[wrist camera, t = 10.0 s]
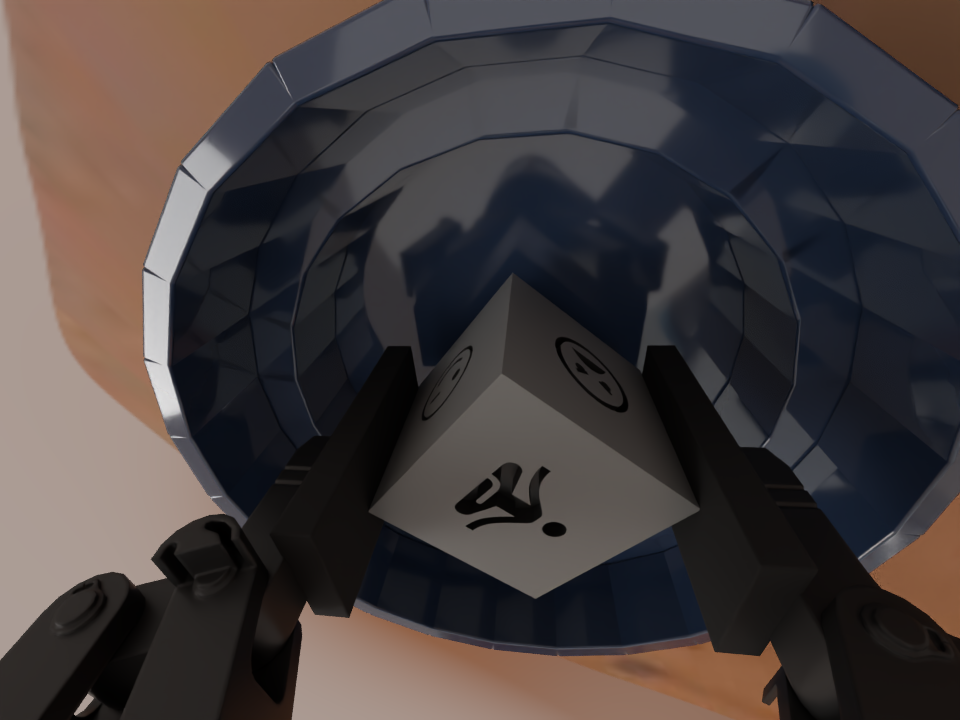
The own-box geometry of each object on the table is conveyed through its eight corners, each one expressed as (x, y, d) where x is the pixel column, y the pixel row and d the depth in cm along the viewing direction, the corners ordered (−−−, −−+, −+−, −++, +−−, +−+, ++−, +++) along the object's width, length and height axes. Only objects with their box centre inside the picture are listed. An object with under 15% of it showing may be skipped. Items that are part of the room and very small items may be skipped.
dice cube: (512, 272, 11) (501, 373, 6) (640, 370, 12) (700, 509, 8) (420, 384, 13) (367, 511, 9) (533, 456, 14) (535, 598, 10)
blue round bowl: (926, 7, 8) (1535, -168, 3) (720, 516, 17) (798, 681, 12) (208, 79, 11) (-88, 42, 6) (355, 498, 20) (293, 630, 14)
